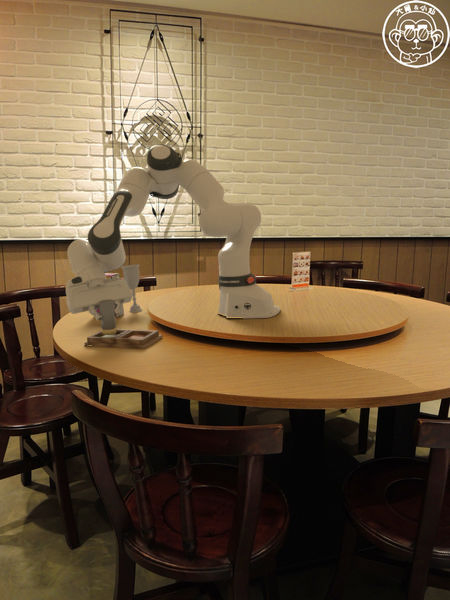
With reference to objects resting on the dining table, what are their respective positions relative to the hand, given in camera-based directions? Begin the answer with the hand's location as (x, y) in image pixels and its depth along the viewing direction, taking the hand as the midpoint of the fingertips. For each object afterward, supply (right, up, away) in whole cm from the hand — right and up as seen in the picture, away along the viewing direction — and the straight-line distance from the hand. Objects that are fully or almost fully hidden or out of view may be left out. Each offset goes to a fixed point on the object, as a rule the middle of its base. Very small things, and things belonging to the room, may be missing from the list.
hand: (108, 317), depth 142 cm
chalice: (0, +1, +42) cm, 42 cm away
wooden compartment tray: (+5, -8, 0) cm, 9 cm away
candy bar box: (-9, -1, +37) cm, 38 cm away
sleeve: (0, -5, +2) cm, 5 cm away
